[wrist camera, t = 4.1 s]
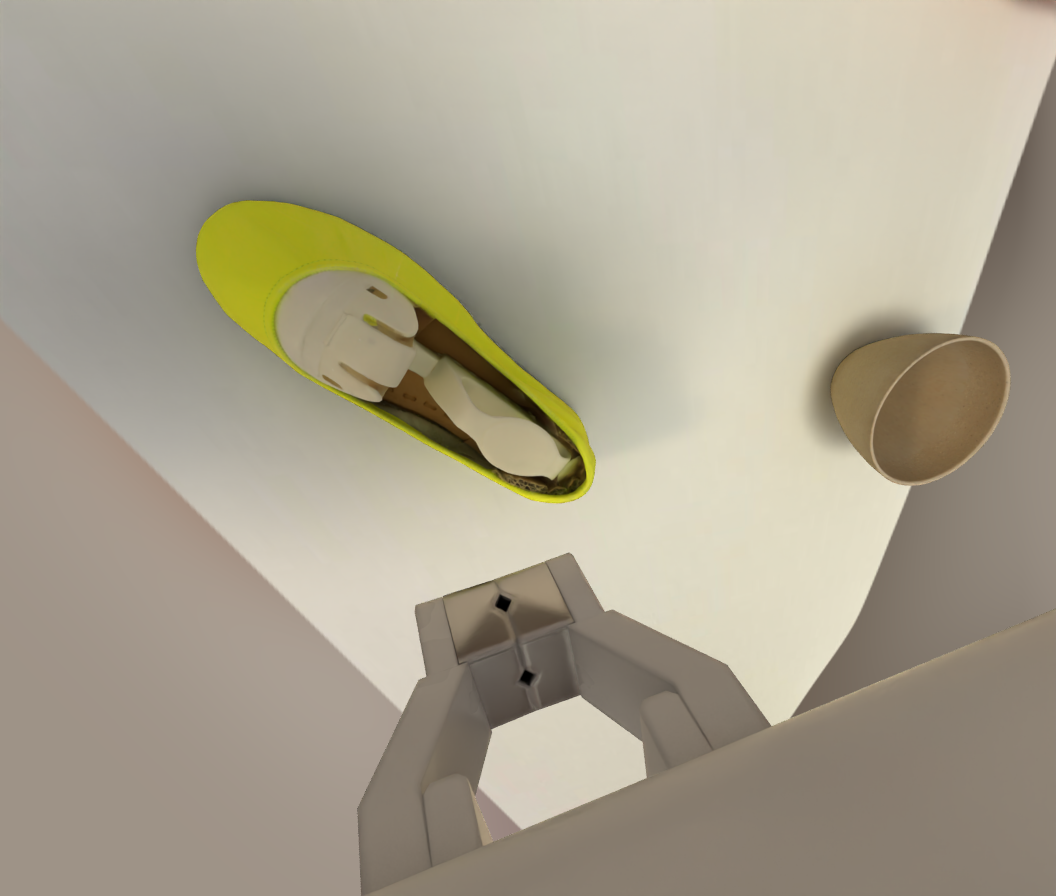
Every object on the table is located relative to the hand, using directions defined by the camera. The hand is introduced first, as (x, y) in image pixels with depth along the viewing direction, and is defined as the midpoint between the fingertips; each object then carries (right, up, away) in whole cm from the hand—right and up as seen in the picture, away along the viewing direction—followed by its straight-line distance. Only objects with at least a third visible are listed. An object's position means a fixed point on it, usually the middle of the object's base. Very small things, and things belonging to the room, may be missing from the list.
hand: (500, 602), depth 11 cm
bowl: (+25, +8, +33) cm, 42 cm away
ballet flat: (-6, +9, +24) cm, 26 cm away
